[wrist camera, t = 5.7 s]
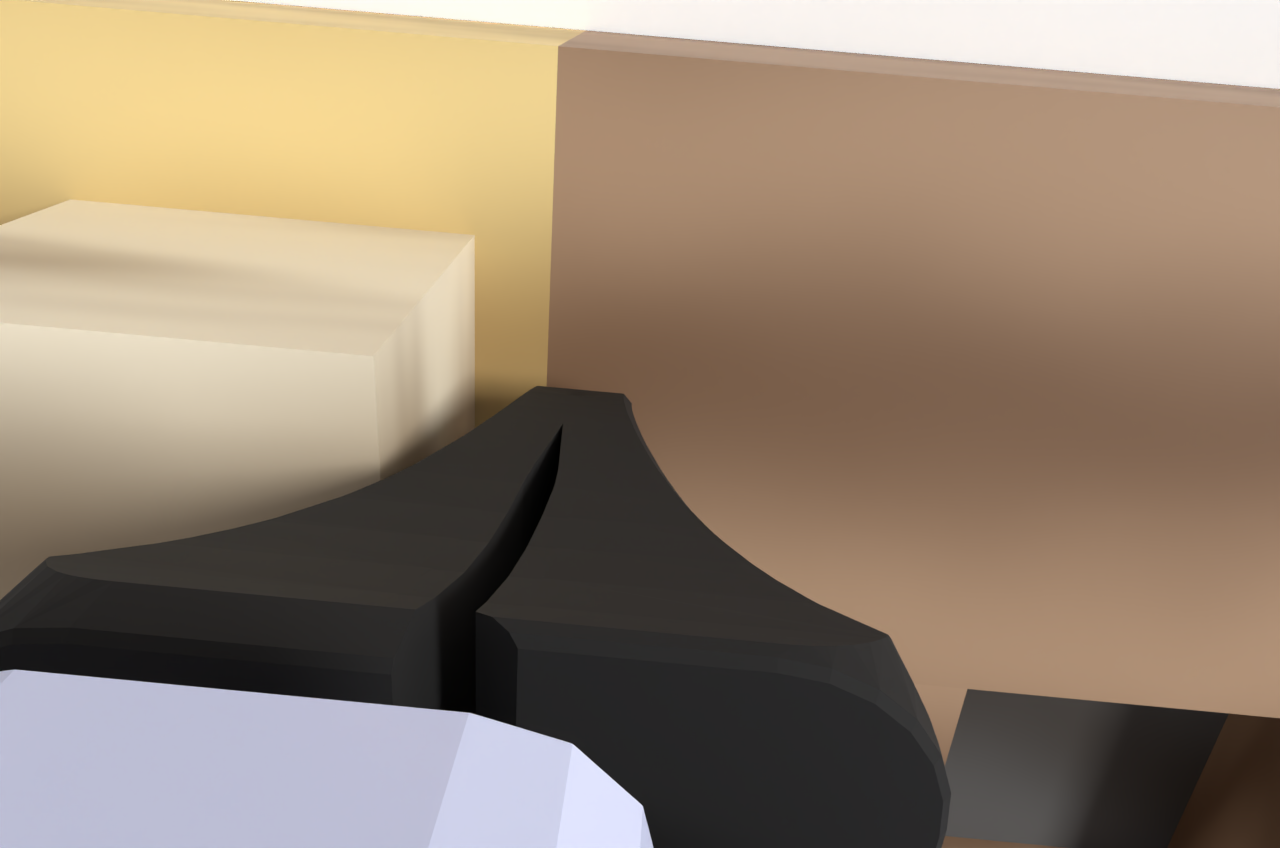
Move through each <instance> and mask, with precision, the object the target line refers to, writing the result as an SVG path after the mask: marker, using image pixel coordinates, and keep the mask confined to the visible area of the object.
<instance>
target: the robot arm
mask: <svg viewBox="0 0 1280 848" xmlns="http://www.w3.org/2000/svg"><path fill="white" fill-rule="evenodd" d="M950 800H951V790H950V786H949V782H948V778H947V774H946V770H945V765H944V761H943V757H942V754H941V750H940V746H939V743H938V740H937V737H936V734H935V731H934V729H933V726H932V723H931V720H930V718H929V715H928V713H927V711H926V708H925V706H924V704H923V702H922V700H921V698H920V696H919V693H918V691H917V689H916V687H915V685H914V683H913V681H912V679H911V677H910V675H909V673H908V671H907V669H906V667H905V665H904V663H903V661H902V659H901V657H900V655H899V653H898V651H897V649H896V647H895V645H894V643H893V641H892V639H891V638H890V636H889V635H888V634H886V633H883V632H881V631H879V630H877V629H874V628H872V627H870V626H868V625H865V624H863V623H861V622H859V621H856V620H854V619H852V618H849V617H847V616H845V615H843V614H840V613H838V612H836V611H834V610H831V609H829V608H827V607H825V606H822V605H820V604H818V603H816V602H814V601H812V600H810V599H809V598H807V597H805V596H803V595H802V594H800V593H798V592H796V591H795V590H793V589H791V588H790V587H788V586H786V585H784V584H783V583H781V582H779V581H777V580H776V579H774V578H773V577H771V576H770V575H768V574H767V573H765V572H764V571H762V570H761V569H759V568H758V567H756V566H755V565H753V564H752V563H750V562H749V561H748V560H747V559H745V558H744V557H743V556H741V555H740V554H739V553H738V552H736V551H735V550H734V549H732V548H731V547H730V546H728V545H727V544H726V543H725V542H723V541H722V540H721V539H720V538H719V537H718V536H717V535H715V534H714V533H713V532H712V531H711V530H710V529H709V528H708V527H707V526H706V525H705V524H704V523H703V522H702V521H701V520H700V519H699V518H698V517H697V516H696V515H695V514H694V513H693V512H692V511H691V510H690V509H689V507H688V506H687V505H686V504H685V502H684V501H683V500H682V499H681V497H680V496H679V495H678V493H677V492H676V491H675V489H674V488H673V486H672V485H671V484H670V482H669V481H668V480H667V478H666V476H665V475H664V473H663V472H662V470H661V469H660V467H659V466H658V464H657V462H656V460H655V459H654V457H653V455H652V453H651V452H650V450H649V448H648V446H647V445H646V443H645V441H644V439H643V437H642V435H641V432H640V430H639V428H638V425H637V423H636V420H635V418H634V415H633V411H632V403H631V402H630V400H629V399H628V398H627V397H626V396H625V394H623V393H612V392H601V391H590V390H579V389H568V388H557V387H546V386H536V387H534V388H532V389H530V390H529V391H527V392H526V393H525V394H523V395H522V396H520V397H519V398H518V399H516V400H515V401H513V402H512V403H511V404H509V405H508V406H506V407H505V408H504V409H502V410H501V411H499V412H498V413H497V414H495V415H494V416H492V417H491V418H489V419H488V420H486V421H485V422H483V423H482V424H480V425H479V426H477V427H476V428H474V429H473V430H472V431H470V432H469V433H467V434H465V435H464V436H462V437H460V438H459V439H457V440H455V441H454V442H452V443H450V444H448V445H447V446H445V447H443V448H442V449H440V450H438V451H436V452H435V453H433V454H431V455H430V456H428V457H426V458H424V459H423V460H421V461H419V462H418V463H416V464H414V465H412V466H410V467H408V468H406V469H404V470H402V471H400V472H398V473H396V474H394V475H391V476H389V477H387V478H385V479H383V480H380V481H378V482H376V483H373V484H371V485H369V486H366V487H364V488H362V489H359V490H357V491H354V492H352V493H349V494H347V495H344V496H341V497H338V498H335V499H332V500H329V501H326V502H323V503H320V504H317V505H314V506H311V507H307V508H304V509H301V510H298V511H295V512H292V513H289V514H286V515H283V516H280V517H276V518H273V519H269V520H265V521H261V522H257V523H253V524H249V525H245V526H241V527H237V528H233V529H229V530H224V531H219V532H214V533H209V534H204V535H199V536H195V537H190V538H184V539H179V540H173V541H167V542H161V543H154V544H147V545H139V546H132V547H124V548H117V549H109V550H102V551H94V552H86V553H79V554H70V555H60V556H49V557H48V558H46V559H45V560H44V561H43V562H42V563H41V564H40V565H38V566H37V567H36V568H35V569H34V570H33V571H32V572H31V573H29V574H28V575H27V576H26V577H25V578H24V579H23V580H22V581H21V582H20V583H18V584H17V585H16V586H15V587H14V588H13V589H12V590H11V591H10V592H9V593H7V594H6V595H5V596H4V597H3V598H2V599H1V600H0V848H942V844H943V841H944V838H945V835H946V831H947V824H948V816H949V808H950Z"/></svg>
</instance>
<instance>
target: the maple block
mask: <svg viewBox="0 0 1280 848" xmlns="http://www.w3.org/2000/svg"><path fill="white" fill-rule="evenodd" d="M474 428H475V235H468V234H457V233H445V232H434V231H423V230H411V229H400V228H389V227H377V226H366V225H355V224H343V223H332V222H321V221H309V220H298V219H287V218H275V217H264V216H253V215H241V214H230V213H219V212H207V211H196V210H185V209H173V208H162V207H151V206H139V205H128V204H117V203H105V202H94V201H83V200H71V199H70V200H67V201H65V202H62V203H59V204H57V205H54V206H51V207H48V208H46V209H43V210H40V211H38V212H35V213H32V214H29V215H27V216H24V217H21V218H18V219H16V220H13V221H10V222H8V223H5V224H2V225H0V600H1V599H2V598H3V597H4V596H5V595H6V594H7V593H9V592H10V591H11V590H12V589H13V588H14V587H15V586H16V585H17V584H18V583H20V582H21V581H22V580H23V579H24V578H25V577H26V576H27V575H28V574H29V573H31V572H32V571H33V570H34V569H35V568H36V567H37V566H38V565H40V564H41V563H42V562H43V561H44V560H45V559H46V558H48V557H49V556H60V555H70V554H79V553H86V552H94V551H102V550H109V549H117V548H124V547H132V546H139V545H147V544H154V543H161V542H167V541H173V540H179V539H184V538H190V537H195V536H199V535H204V534H209V533H214V532H219V531H224V530H229V529H233V528H237V527H241V526H245V525H249V524H253V523H257V522H261V521H265V520H269V519H273V518H276V517H280V516H283V515H286V514H289V513H292V512H295V511H298V510H301V509H304V508H307V507H311V506H314V505H317V504H320V503H323V502H326V501H329V500H332V499H335V498H338V497H341V496H344V495H347V494H349V493H352V492H354V491H357V490H359V489H362V488H364V487H366V486H369V485H371V484H373V483H376V482H378V481H380V480H383V479H385V478H387V477H389V476H391V475H394V474H396V473H398V472H400V471H402V470H404V469H406V468H408V467H410V466H412V465H414V464H416V463H418V462H419V461H421V460H423V459H424V458H426V457H428V456H430V455H431V454H433V453H435V452H436V451H438V450H440V449H442V448H443V447H445V446H447V445H448V444H450V443H452V442H454V441H455V440H457V439H459V438H460V437H462V436H464V435H465V434H467V433H469V432H470V431H472V430H473V429H474Z"/></svg>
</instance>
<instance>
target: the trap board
mask: <svg viewBox="0 0 1280 848" xmlns="http://www.w3.org/2000/svg"><path fill="white" fill-rule="evenodd" d="M70 199H71V200H83V201H94V202H105V203H117V204H128V205H139V206H151V207H162V208H173V209H185V210H196V211H207V212H219V213H230V214H241V215H253V216H264V217H275V218H287V219H298V220H309V221H321V222H332V223H343V224H355V225H366V226H377V227H389V228H400V229H411V230H423V231H434V232H445V233H457V234H468V235H475V428H476V427H477V426H479V425H480V424H482V423H483V422H485V421H486V420H488V419H489V418H491V417H492V416H494V415H495V414H497V413H498V412H499V411H501V410H502V409H504V408H505V407H506V406H508V405H509V404H511V403H512V402H513V401H515V400H516V399H518V398H519V397H520V396H522V395H523V394H525V393H526V392H527V391H529V390H530V389H532V388H534V387H536V386H546V387H557V388H568V389H579V390H590V391H601V392H612V393H623V394H625V396H626V397H627V398H628V399H629V400H630V402H631V403H632V411H633V415H634V418H635V420H636V423H637V425H638V428H639V430H640V432H641V435H642V437H643V439H644V441H645V443H646V445H647V446H648V448H649V450H650V452H651V453H652V455H653V457H654V459H655V460H656V462H657V464H658V466H659V467H660V469H661V470H662V472H663V473H664V475H665V476H666V478H667V480H668V481H669V482H670V484H671V485H672V486H673V488H674V489H675V491H676V492H677V493H678V495H679V496H680V497H681V499H682V500H683V501H684V502H685V504H686V505H687V506H688V507H689V509H690V510H691V511H692V512H693V513H694V514H695V515H696V516H697V517H698V518H699V519H700V520H701V521H702V522H703V523H704V524H705V525H706V526H707V527H708V528H709V529H710V530H711V531H712V532H713V533H714V534H715V535H717V536H718V537H719V538H720V539H721V540H722V541H723V542H725V543H726V544H727V545H728V546H730V547H731V548H732V549H734V550H735V551H736V552H738V553H739V554H740V555H741V556H743V557H744V558H745V559H747V560H748V561H749V562H750V563H752V564H753V565H755V566H756V567H758V568H759V569H761V570H762V571H764V572H765V573H767V574H768V575H770V576H771V577H773V578H774V579H776V580H777V581H779V582H781V583H783V584H784V585H786V586H788V587H790V588H791V589H793V590H795V591H796V592H798V593H800V594H802V595H803V596H805V597H807V598H809V599H810V600H812V601H814V602H816V603H818V604H820V605H822V606H825V607H827V608H829V609H831V610H834V611H836V612H838V613H840V614H843V615H845V616H847V617H849V618H852V619H854V620H856V621H859V622H861V623H863V624H865V625H868V626H870V627H872V628H874V629H877V630H879V631H881V632H883V633H886V634H888V635H889V636H890V638H891V639H892V641H893V643H894V645H895V647H896V649H897V651H898V653H899V655H900V657H901V659H902V661H903V663H904V665H905V667H906V669H907V671H908V673H909V675H910V677H911V679H912V681H913V683H914V685H915V687H916V689H917V691H918V693H919V696H920V698H921V700H922V702H923V704H924V706H925V708H926V711H927V713H928V715H929V718H930V720H931V723H932V726H933V729H934V731H935V734H936V737H937V740H938V743H939V746H940V750H941V754H942V757H943V761H944V765H945V770H946V774H947V778H948V782H949V786H950V790H951V800H950V808H949V816H948V824H947V831H946V835H945V838H944V841H943V844H942V848H1280V89H1271V88H1260V87H1248V86H1236V85H1224V84H1212V83H1200V82H1189V81H1177V80H1165V79H1153V78H1141V77H1129V76H1118V75H1106V74H1094V73H1082V72H1070V71H1058V70H1046V69H1035V68H1023V67H1011V66H999V65H987V64H975V63H964V62H952V61H940V60H928V59H916V58H904V57H893V56H881V55H869V54H857V53H845V52H833V51H822V50H810V49H798V48H786V47H774V46H762V45H751V44H739V43H727V42H715V41H703V40H691V39H680V38H668V37H656V36H644V35H632V34H620V33H609V32H597V31H585V30H573V29H561V28H549V27H538V26H526V25H514V24H502V23H490V22H478V21H467V20H455V19H443V18H431V17H419V16H407V15H396V14H384V13H372V12H360V11H348V10H336V9H325V8H313V7H301V6H289V5H277V4H265V3H254V2H242V1H230V0H0V225H2V224H5V223H8V222H10V221H13V220H16V219H18V218H21V217H24V216H27V215H29V214H32V213H35V212H38V211H40V210H43V209H46V208H48V207H51V206H54V205H57V204H59V203H62V202H65V201H67V200H70Z"/></svg>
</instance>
